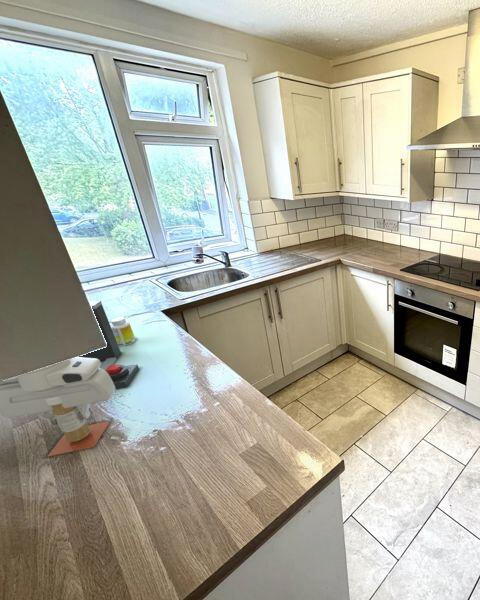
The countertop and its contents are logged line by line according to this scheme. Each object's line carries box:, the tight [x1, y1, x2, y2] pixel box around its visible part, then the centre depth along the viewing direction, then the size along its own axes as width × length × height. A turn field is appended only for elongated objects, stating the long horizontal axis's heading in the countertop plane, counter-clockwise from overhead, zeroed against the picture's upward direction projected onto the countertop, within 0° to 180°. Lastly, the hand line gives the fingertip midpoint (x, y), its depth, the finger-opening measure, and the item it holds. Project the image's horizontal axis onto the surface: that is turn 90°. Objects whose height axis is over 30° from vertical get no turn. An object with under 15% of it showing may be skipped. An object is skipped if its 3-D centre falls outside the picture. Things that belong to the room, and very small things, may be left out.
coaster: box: [46, 420, 111, 458], centre depth 82 cm, size 9×9×1 cm
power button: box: [107, 363, 121, 375], centre depth 102 cm, size 3×3×2 cm
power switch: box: [105, 363, 140, 390], centre depth 103 cm, size 8×10×4 cm
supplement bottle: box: [110, 316, 136, 347], centre depth 123 cm, size 6×6×10 cm
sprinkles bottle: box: [46, 397, 91, 442], centre depth 79 cm, size 5×5×14 cm
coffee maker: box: [79, 300, 122, 370], centre depth 105 cm, size 11×14×21 cm
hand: (71, 420), depth 79 cm, fingers closed on sprinkles bottle, 4 cm apart
